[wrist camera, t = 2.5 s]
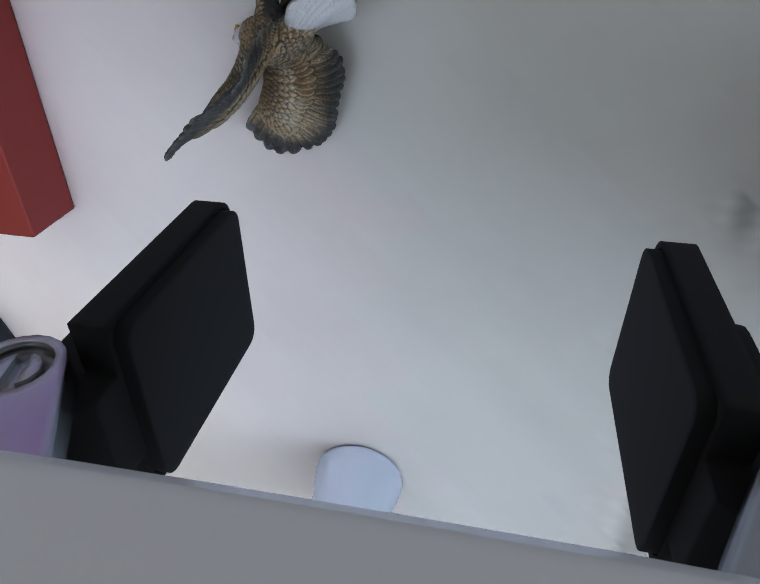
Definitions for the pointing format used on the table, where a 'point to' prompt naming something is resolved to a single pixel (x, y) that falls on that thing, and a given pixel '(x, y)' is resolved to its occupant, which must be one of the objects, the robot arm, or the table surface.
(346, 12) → the eagle figurine
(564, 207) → the table surface
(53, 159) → the pencil case
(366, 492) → the beer glass
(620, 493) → the table surface
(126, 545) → the robot arm
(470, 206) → the table surface
